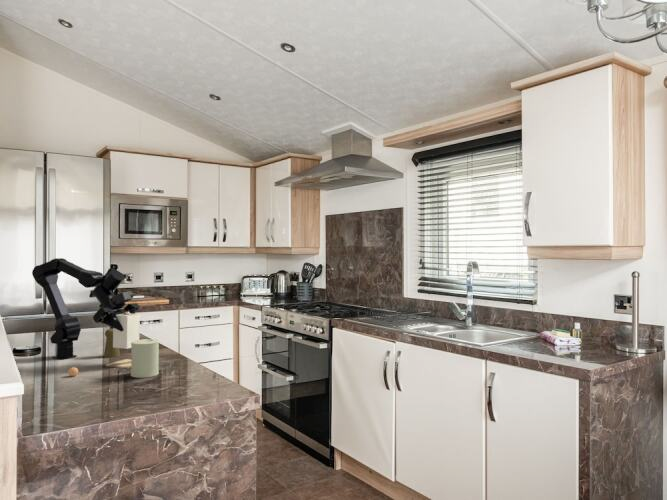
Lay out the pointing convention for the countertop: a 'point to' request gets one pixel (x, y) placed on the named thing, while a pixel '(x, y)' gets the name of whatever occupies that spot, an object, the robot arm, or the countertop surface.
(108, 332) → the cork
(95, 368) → the countertop surface
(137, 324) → the knobbed white block
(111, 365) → the coaster
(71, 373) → the ball
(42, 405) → the countertop surface
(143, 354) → the can
